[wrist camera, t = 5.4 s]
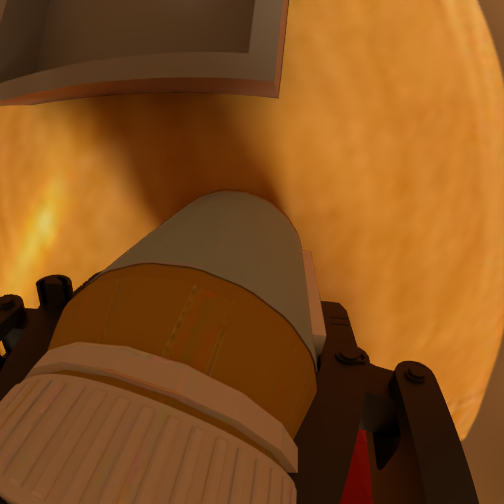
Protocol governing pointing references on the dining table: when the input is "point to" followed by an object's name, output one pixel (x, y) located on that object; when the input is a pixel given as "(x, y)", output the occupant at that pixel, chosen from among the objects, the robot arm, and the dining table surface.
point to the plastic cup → (358, 474)
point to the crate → (139, 48)
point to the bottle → (173, 370)
